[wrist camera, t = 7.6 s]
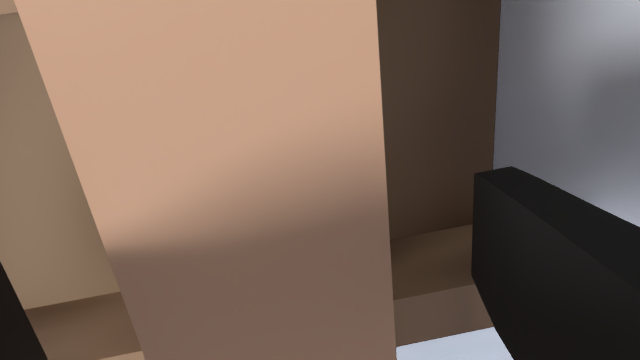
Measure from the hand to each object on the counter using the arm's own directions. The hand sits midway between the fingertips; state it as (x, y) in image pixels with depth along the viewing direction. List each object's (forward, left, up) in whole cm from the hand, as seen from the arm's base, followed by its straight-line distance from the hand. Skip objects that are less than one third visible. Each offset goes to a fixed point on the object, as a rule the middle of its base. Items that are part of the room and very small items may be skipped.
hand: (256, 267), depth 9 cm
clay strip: (0, 0, -3) cm, 3 cm away
